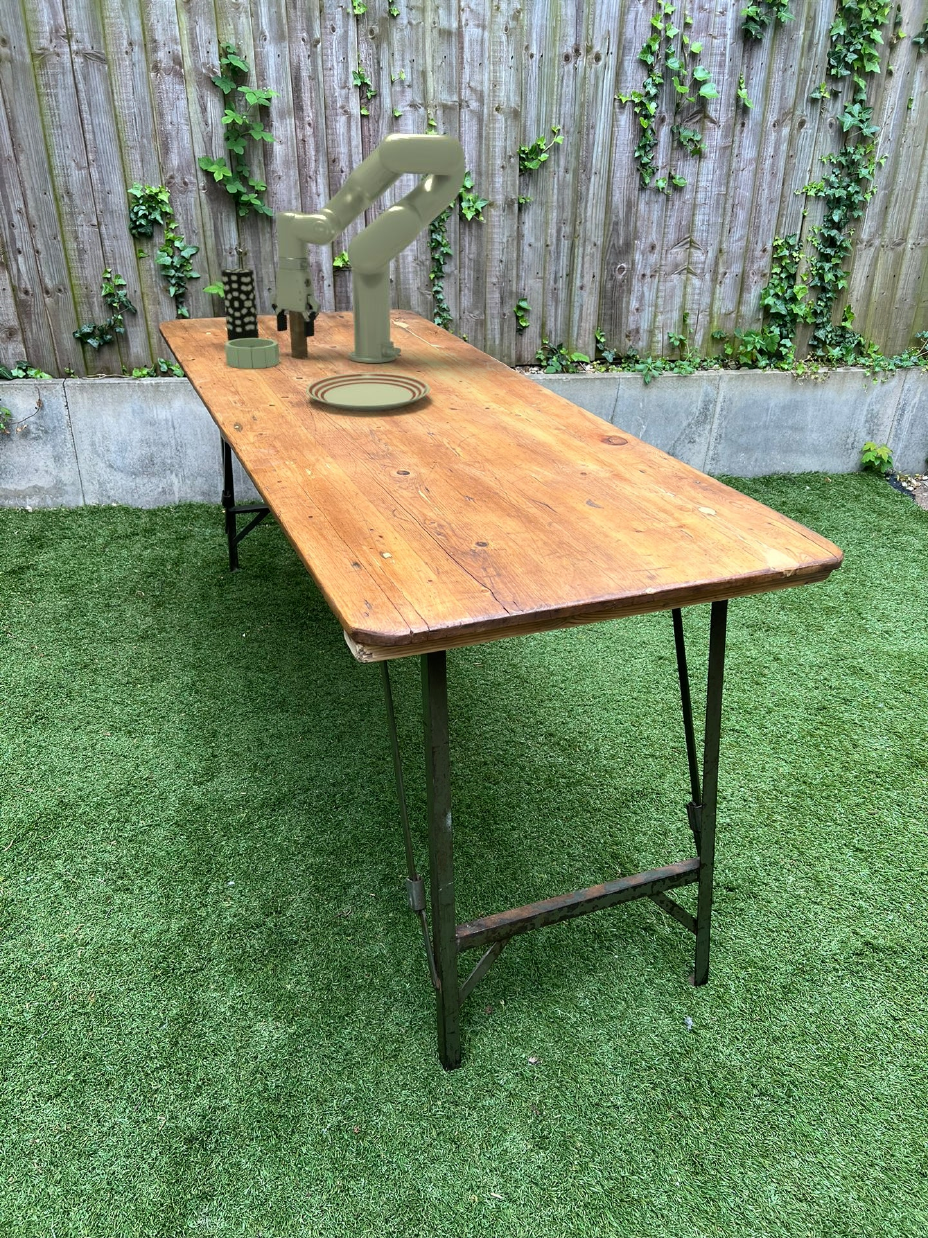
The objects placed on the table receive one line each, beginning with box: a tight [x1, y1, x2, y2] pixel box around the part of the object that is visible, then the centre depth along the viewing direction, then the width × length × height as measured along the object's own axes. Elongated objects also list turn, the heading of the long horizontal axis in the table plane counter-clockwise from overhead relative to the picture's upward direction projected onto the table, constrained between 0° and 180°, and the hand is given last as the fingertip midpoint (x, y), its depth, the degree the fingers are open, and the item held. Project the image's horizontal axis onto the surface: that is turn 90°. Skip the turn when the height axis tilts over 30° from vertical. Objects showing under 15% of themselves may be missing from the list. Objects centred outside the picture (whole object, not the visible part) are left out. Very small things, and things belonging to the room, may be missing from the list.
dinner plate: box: [305, 372, 431, 412], centre depth 203 cm, size 28×27×3 cm
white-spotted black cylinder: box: [220, 268, 260, 342], centre depth 246 cm, size 8×8×20 cm
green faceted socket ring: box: [224, 337, 281, 370], centre depth 233 cm, size 13×13×5 cm
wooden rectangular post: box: [288, 311, 309, 359], centre depth 239 cm, size 3×3×14 cm
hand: (295, 333), depth 239 cm, fingers open, 9 cm apart
